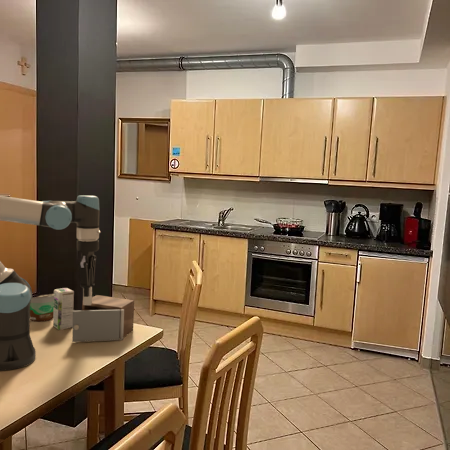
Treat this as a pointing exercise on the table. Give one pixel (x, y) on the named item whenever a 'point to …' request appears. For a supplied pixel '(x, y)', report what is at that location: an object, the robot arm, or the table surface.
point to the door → (97, 325)
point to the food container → (42, 308)
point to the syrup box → (63, 308)
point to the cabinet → (114, 304)
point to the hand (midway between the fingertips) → (87, 304)
